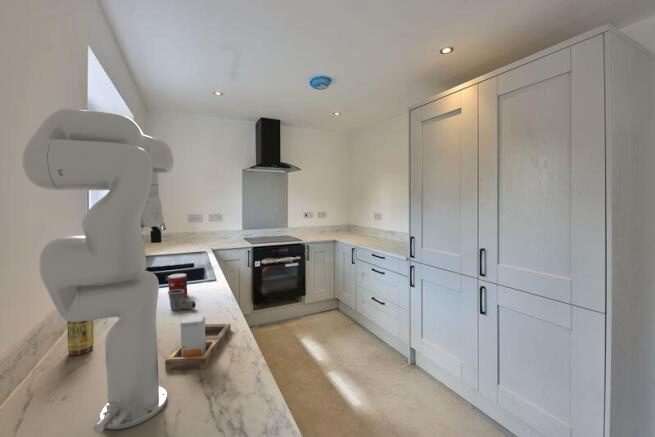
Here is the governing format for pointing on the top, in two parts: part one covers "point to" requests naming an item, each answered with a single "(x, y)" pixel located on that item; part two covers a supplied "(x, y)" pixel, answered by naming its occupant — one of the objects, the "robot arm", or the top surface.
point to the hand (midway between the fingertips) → (147, 245)
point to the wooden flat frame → (211, 348)
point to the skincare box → (193, 337)
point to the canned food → (178, 282)
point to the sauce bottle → (80, 337)
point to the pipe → (179, 300)
